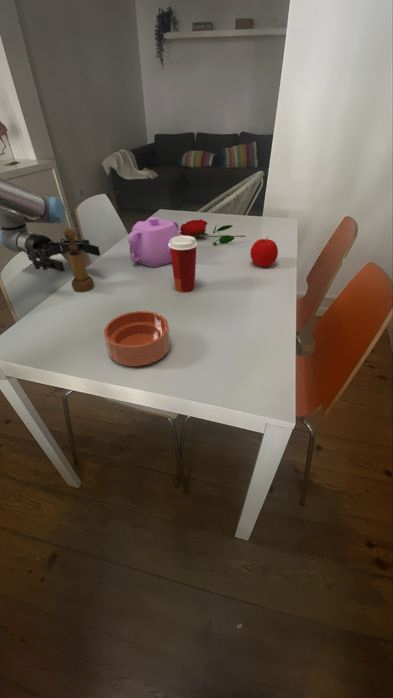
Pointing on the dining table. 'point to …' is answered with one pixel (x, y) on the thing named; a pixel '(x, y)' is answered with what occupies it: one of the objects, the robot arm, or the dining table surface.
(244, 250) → the dining table surface
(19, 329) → the dining table surface
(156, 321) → the bowl
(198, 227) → the flower
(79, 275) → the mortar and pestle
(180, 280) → the coffee cup
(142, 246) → the teapot
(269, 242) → the fruit
